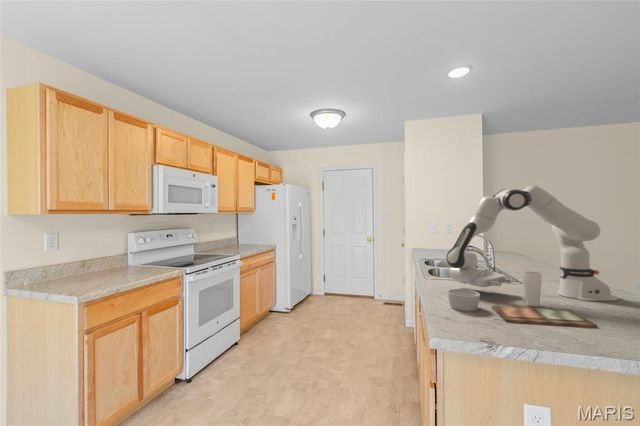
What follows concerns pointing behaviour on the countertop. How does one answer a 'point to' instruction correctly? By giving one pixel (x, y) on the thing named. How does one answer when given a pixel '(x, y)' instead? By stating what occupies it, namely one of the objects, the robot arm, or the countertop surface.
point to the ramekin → (463, 299)
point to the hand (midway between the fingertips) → (506, 283)
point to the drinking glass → (532, 288)
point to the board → (542, 316)
